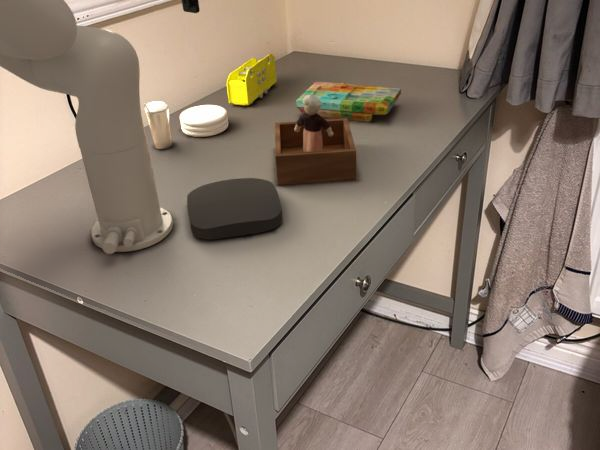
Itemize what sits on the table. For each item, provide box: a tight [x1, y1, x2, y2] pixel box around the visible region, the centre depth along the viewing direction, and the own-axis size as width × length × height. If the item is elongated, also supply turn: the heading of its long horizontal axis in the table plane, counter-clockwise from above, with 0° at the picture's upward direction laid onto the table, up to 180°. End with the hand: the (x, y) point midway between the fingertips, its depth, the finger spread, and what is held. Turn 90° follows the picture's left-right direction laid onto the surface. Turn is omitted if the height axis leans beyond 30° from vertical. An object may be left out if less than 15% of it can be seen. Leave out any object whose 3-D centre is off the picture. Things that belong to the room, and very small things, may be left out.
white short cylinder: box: [179, 104, 229, 138], centre depth 134 cm, size 10×10×4 cm
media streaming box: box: [186, 177, 284, 240], centre depth 103 cm, size 15×15×3 cm
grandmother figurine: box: [294, 95, 333, 152], centre depth 114 cm, size 8×4×13 cm, turn 73°
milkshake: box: [143, 100, 172, 150], centre depth 126 cm, size 4×5×10 cm
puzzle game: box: [295, 81, 402, 122], centre depth 138 cm, size 12×5×20 cm
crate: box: [274, 118, 357, 186], centre depth 116 cm, size 15×14×6 cm
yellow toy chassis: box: [225, 53, 277, 106], centre depth 148 cm, size 16×6×8 cm, turn 158°
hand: (212, 4), depth 105 cm, fingers open, 9 cm apart
